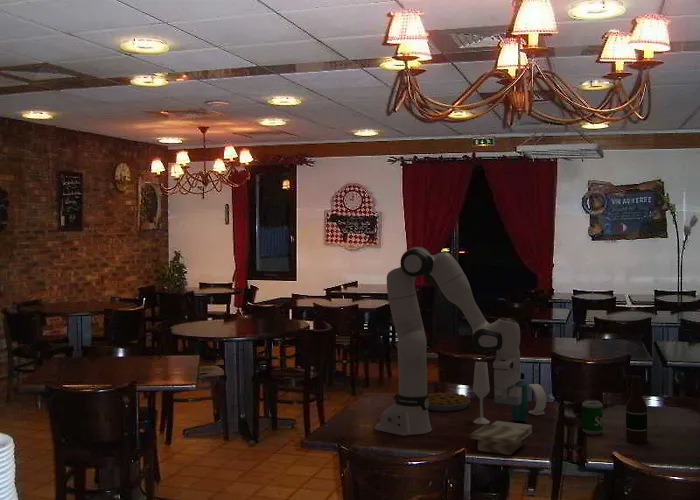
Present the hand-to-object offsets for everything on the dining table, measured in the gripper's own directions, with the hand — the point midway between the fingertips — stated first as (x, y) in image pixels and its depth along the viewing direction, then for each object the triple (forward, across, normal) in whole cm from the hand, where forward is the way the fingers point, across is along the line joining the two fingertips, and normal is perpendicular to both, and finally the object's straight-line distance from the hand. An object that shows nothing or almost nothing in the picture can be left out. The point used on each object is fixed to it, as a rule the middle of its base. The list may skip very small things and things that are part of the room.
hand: (507, 397), depth 300 cm
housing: (+2, 0, 0) cm, 2 cm away
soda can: (+14, -17, +28) cm, 35 cm away
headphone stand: (+14, -36, +1) cm, 39 cm away
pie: (+15, -31, -39) cm, 53 cm away
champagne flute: (+15, -13, -15) cm, 25 cm away
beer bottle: (+14, -13, +44) cm, 48 cm away
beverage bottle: (+14, -19, -2) cm, 24 cm away
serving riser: (+14, +19, +4) cm, 24 cm away
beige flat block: (+14, 0, 0) cm, 14 cm away
